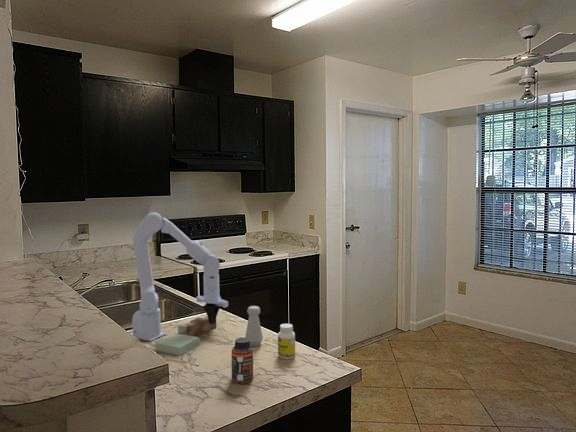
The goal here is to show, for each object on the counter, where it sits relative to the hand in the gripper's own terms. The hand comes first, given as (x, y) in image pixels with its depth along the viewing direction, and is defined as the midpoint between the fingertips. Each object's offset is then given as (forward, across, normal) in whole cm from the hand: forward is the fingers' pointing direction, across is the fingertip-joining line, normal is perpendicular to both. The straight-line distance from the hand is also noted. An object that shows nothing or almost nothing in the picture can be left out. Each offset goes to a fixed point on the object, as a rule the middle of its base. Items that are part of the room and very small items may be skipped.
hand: (212, 323), depth 161 cm
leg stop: (+2, +7, +1) cm, 8 cm away
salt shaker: (+3, -22, +3) cm, 23 cm away
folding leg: (+2, +2, +5) cm, 6 cm away
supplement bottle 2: (+3, -37, +4) cm, 37 cm away
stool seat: (+2, -3, +19) cm, 19 cm away
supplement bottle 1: (+3, -36, +24) cm, 44 cm away
